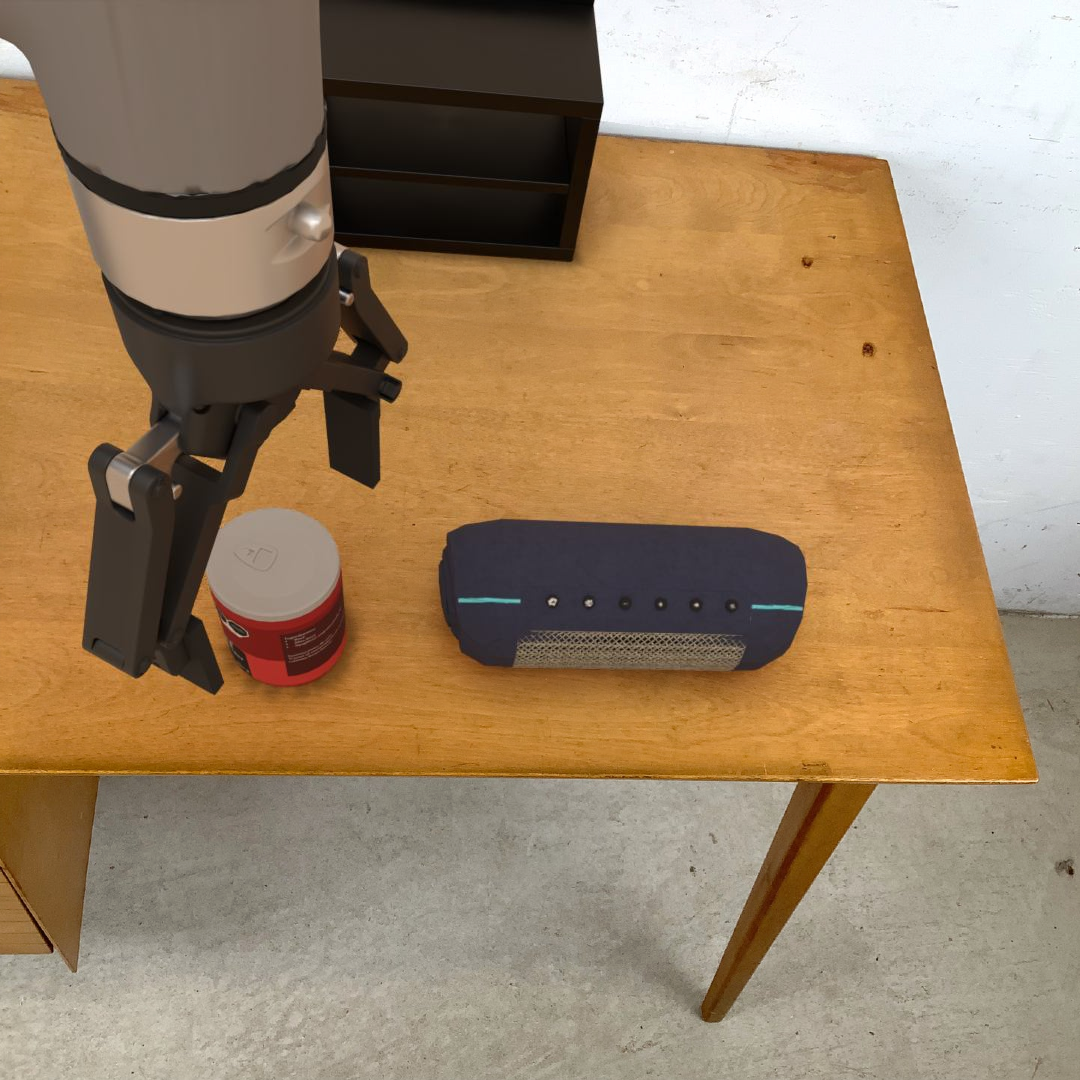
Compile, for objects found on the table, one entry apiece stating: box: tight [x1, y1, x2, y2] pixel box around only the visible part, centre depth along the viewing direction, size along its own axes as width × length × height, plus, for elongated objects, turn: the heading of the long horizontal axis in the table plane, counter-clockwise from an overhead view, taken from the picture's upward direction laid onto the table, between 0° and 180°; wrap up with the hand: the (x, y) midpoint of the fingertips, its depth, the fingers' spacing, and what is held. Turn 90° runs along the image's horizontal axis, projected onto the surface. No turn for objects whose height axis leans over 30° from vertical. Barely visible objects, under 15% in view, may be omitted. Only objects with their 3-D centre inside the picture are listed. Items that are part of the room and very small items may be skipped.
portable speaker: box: [438, 518, 809, 672], centre depth 69 cm, size 25×10×10 cm, turn 92°
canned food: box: [205, 507, 347, 688], centre depth 65 cm, size 8×8×11 cm
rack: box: [319, 0, 605, 263], centre depth 87 cm, size 14×24×18 cm, turn 92°
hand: (280, 568), depth 51 cm, fingers open, 13 cm apart
